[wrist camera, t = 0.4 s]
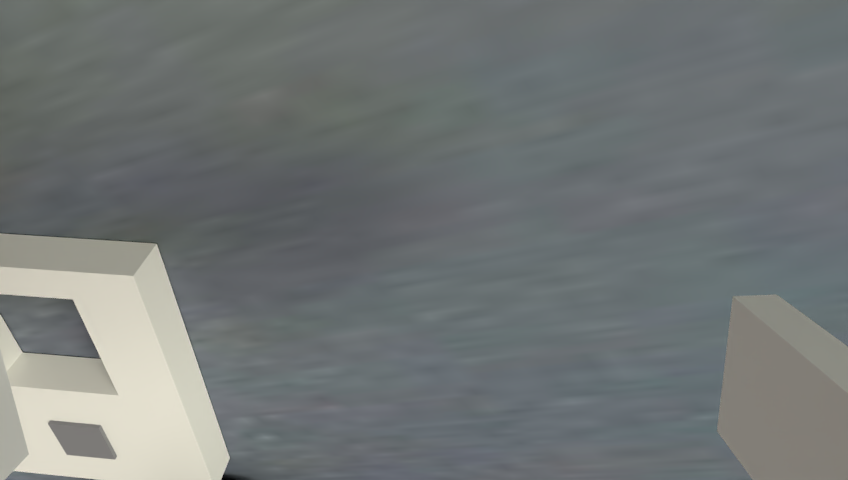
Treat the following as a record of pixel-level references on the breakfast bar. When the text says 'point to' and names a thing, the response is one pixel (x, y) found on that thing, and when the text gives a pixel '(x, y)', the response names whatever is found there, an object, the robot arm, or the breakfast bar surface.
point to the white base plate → (109, 367)
